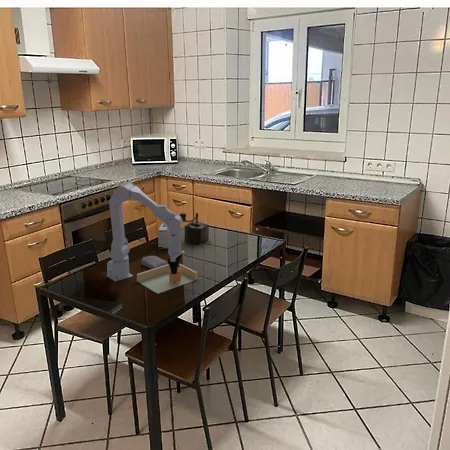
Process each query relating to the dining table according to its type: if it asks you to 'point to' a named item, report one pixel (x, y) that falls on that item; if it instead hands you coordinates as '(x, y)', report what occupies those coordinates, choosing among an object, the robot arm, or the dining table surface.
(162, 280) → the tray
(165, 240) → the light bulb box
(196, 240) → the pepper mill
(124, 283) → the dining table surface
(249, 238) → the dining table surface
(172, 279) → the cube
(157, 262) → the stone block
